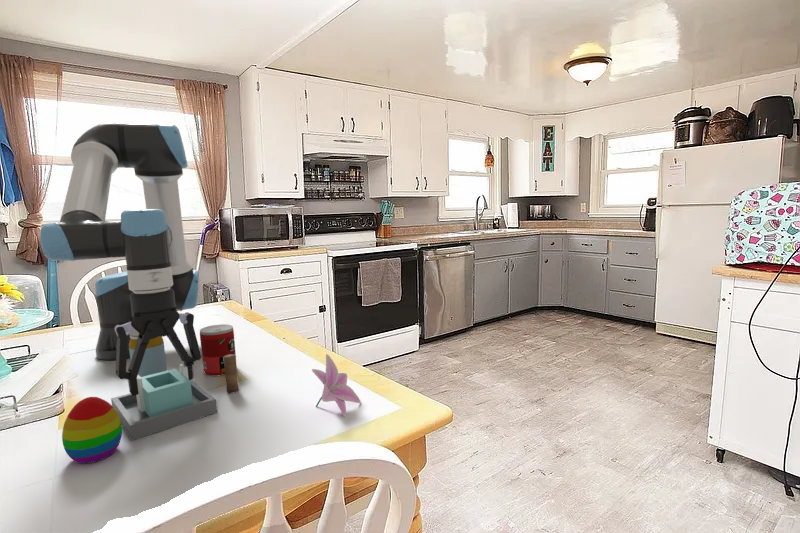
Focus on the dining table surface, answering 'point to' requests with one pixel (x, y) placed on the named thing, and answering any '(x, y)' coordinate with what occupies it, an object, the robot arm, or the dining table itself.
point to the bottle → (149, 355)
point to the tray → (144, 425)
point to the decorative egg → (91, 430)
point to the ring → (166, 392)
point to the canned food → (216, 347)
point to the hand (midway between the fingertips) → (164, 402)
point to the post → (231, 373)
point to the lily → (335, 386)
